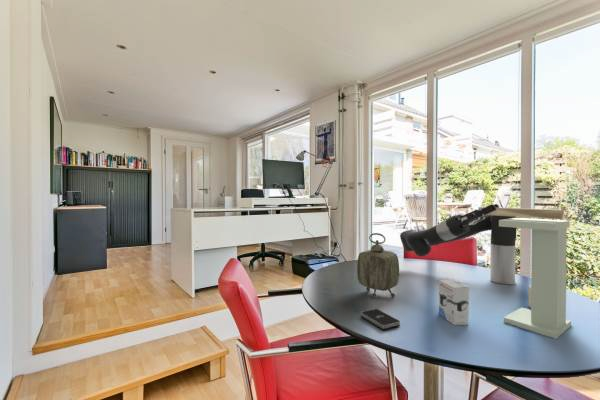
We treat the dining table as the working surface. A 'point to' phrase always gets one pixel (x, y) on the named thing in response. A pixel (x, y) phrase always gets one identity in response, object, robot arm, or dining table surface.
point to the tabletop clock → (378, 268)
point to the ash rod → (528, 213)
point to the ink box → (454, 301)
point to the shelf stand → (544, 277)
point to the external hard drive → (380, 319)
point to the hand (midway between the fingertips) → (496, 206)
